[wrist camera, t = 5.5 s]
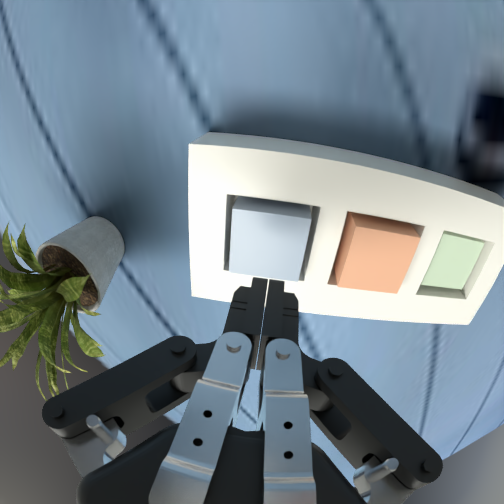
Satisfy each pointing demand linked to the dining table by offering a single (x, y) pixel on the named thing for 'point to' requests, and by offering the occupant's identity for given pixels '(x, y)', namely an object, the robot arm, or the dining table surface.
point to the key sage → (453, 260)
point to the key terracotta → (374, 253)
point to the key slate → (268, 237)
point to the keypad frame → (339, 223)
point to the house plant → (59, 289)
